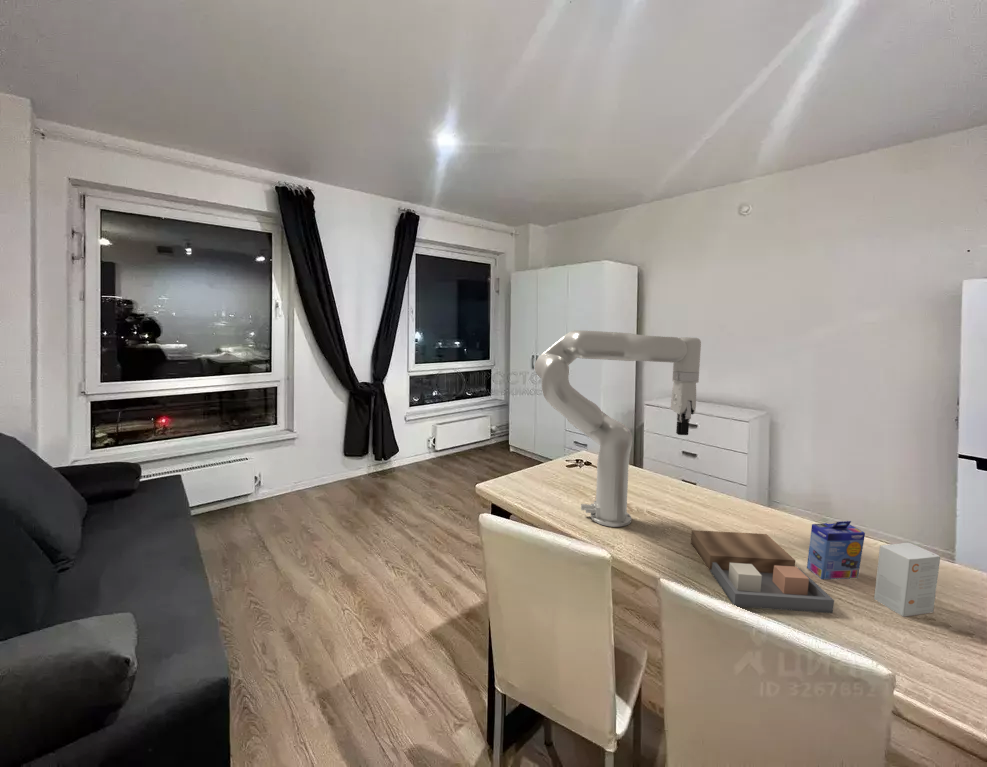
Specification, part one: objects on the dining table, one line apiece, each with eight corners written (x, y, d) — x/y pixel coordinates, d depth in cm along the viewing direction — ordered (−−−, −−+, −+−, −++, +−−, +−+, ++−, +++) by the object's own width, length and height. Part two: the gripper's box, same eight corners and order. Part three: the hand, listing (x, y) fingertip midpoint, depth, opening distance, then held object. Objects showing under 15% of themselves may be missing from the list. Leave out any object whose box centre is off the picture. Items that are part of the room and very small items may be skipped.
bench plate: (709, 570, 110) (710, 555, 109) (690, 543, 124) (691, 530, 123) (794, 575, 108) (795, 560, 107) (765, 547, 122) (766, 534, 121)
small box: (901, 595, 100) (908, 541, 98) (934, 613, 94) (942, 556, 92) (872, 599, 98) (879, 544, 97) (903, 617, 92) (910, 559, 91)
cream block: (729, 562, 105) (728, 578, 105) (738, 574, 100) (737, 590, 100) (751, 564, 104) (750, 579, 105) (761, 575, 99) (760, 592, 100)
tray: (734, 606, 96) (735, 593, 95) (710, 571, 109) (710, 560, 109) (832, 613, 93) (834, 600, 93) (795, 576, 107) (796, 565, 107)
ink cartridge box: (823, 581, 106) (829, 524, 104) (805, 568, 111) (810, 514, 109) (861, 579, 106) (867, 522, 105) (841, 567, 112) (847, 513, 110)
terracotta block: (773, 565, 104) (772, 581, 104) (785, 577, 99) (783, 593, 99) (796, 566, 103) (794, 582, 104) (809, 578, 98) (807, 595, 99)
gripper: (666, 374, 144) (663, 428, 147) (680, 379, 130) (677, 439, 132) (690, 374, 144) (686, 429, 146) (707, 380, 129) (703, 440, 131)
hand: (682, 434), depth 139 cm, fingers closed
